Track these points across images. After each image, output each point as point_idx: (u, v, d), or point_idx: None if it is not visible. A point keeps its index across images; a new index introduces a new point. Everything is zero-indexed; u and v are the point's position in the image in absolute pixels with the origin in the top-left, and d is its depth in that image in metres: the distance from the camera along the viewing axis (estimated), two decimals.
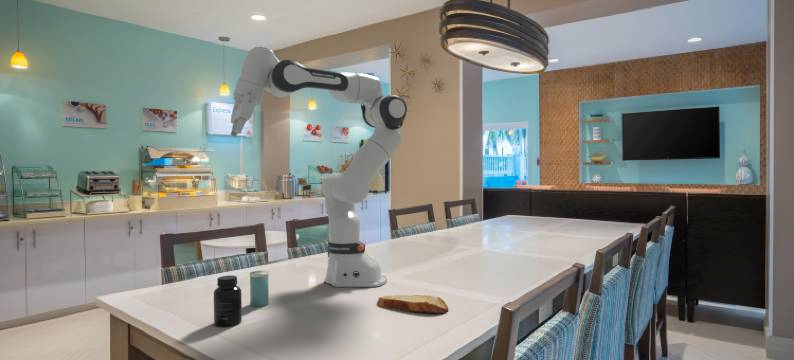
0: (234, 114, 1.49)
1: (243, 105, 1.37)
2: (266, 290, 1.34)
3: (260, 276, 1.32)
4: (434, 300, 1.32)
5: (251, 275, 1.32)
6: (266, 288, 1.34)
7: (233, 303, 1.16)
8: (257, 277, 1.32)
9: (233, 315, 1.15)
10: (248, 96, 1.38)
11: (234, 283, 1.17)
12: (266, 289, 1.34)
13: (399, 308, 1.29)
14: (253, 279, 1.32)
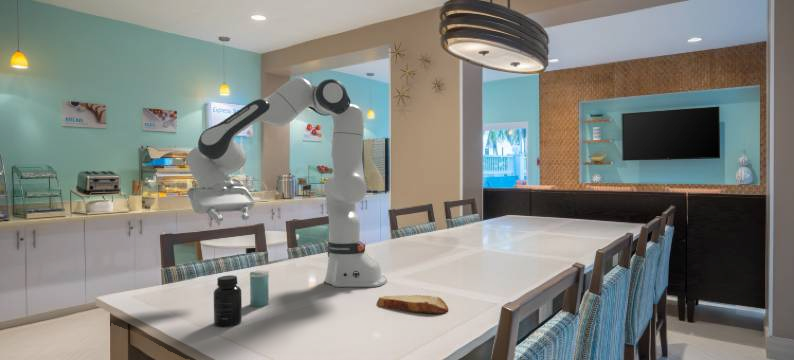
0: None
1: (192, 206, 1.37)
2: (266, 290, 1.34)
3: (260, 276, 1.32)
4: (434, 300, 1.32)
5: (251, 275, 1.32)
6: (266, 288, 1.34)
7: (233, 303, 1.16)
8: (257, 277, 1.32)
9: (233, 315, 1.15)
10: None
11: (234, 283, 1.17)
12: (266, 289, 1.34)
13: (399, 308, 1.29)
14: (253, 279, 1.32)
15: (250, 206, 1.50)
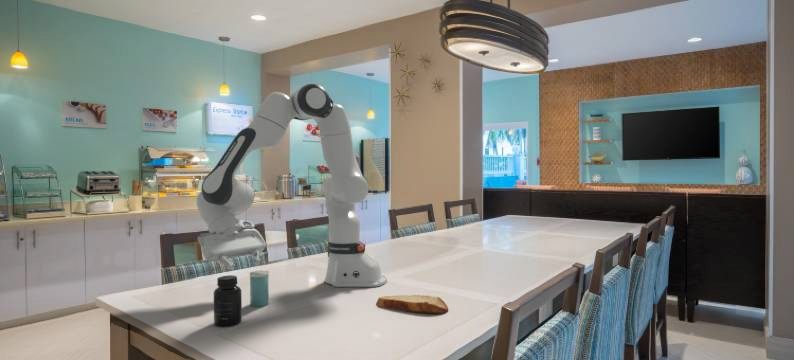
0: None
1: (203, 253, 1.34)
2: (266, 290, 1.34)
3: (260, 276, 1.32)
4: (434, 300, 1.32)
5: (251, 275, 1.32)
6: (266, 288, 1.34)
7: (233, 303, 1.16)
8: (257, 277, 1.32)
9: (233, 315, 1.15)
10: None
11: (234, 283, 1.17)
12: (266, 289, 1.34)
13: (399, 308, 1.29)
14: (253, 279, 1.32)
15: (261, 249, 1.47)
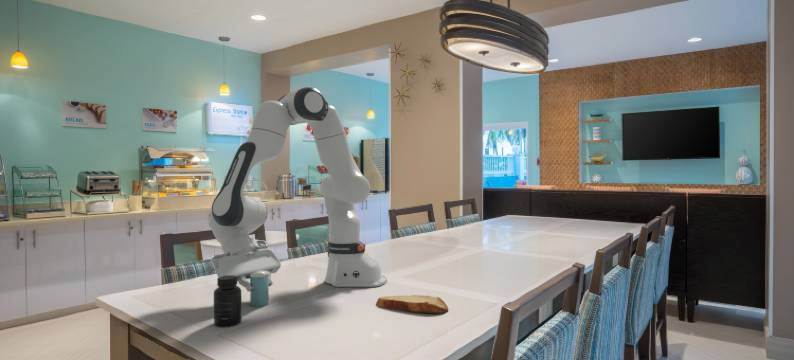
0: None
1: (217, 275, 1.30)
2: (266, 290, 1.34)
3: (260, 276, 1.32)
4: (434, 300, 1.32)
5: (251, 275, 1.32)
6: (266, 288, 1.34)
7: (233, 303, 1.16)
8: (257, 277, 1.32)
9: (233, 315, 1.15)
10: None
11: (234, 283, 1.17)
12: (266, 289, 1.33)
13: (399, 308, 1.29)
14: (253, 279, 1.32)
15: (276, 269, 1.43)
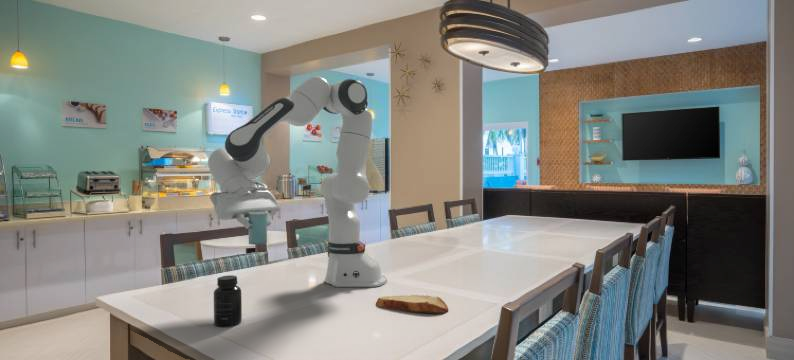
0: None
1: (216, 211, 1.29)
2: (264, 228, 1.33)
3: (258, 213, 1.31)
4: (434, 299, 1.32)
5: (249, 212, 1.32)
6: (264, 226, 1.33)
7: (233, 303, 1.16)
8: (255, 214, 1.31)
9: (233, 315, 1.15)
10: None
11: (234, 283, 1.17)
12: (264, 227, 1.33)
13: (399, 309, 1.29)
14: (251, 216, 1.31)
15: (275, 211, 1.42)
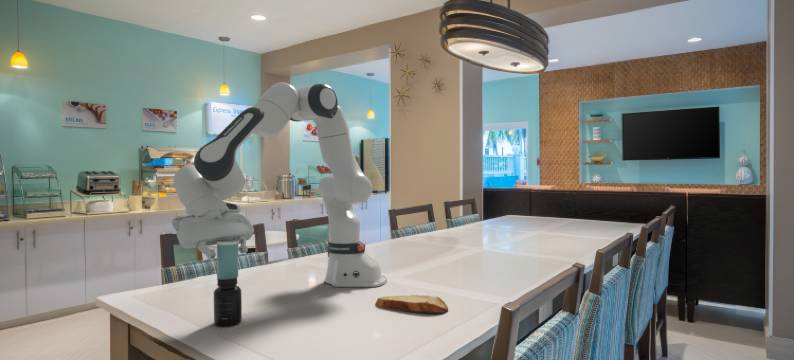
0: None
1: (178, 239, 1.13)
2: (235, 260, 1.17)
3: (228, 244, 1.15)
4: (433, 299, 1.32)
5: (218, 243, 1.16)
6: (235, 258, 1.17)
7: (233, 303, 1.16)
8: (224, 245, 1.15)
9: (233, 315, 1.15)
10: None
11: (234, 283, 1.17)
12: (235, 259, 1.17)
13: (399, 309, 1.29)
14: (220, 247, 1.15)
15: (249, 235, 1.26)
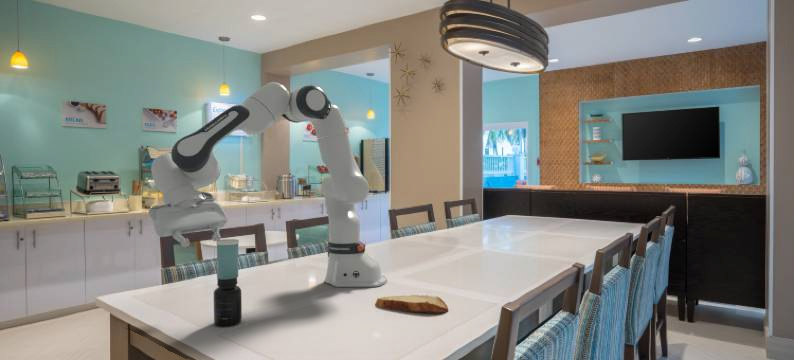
0: None
1: None
2: (235, 260, 1.17)
3: (228, 244, 1.15)
4: (433, 299, 1.32)
5: (218, 243, 1.16)
6: (235, 258, 1.17)
7: (233, 303, 1.16)
8: (224, 245, 1.15)
9: (233, 315, 1.15)
10: None
11: (234, 283, 1.17)
12: (235, 259, 1.17)
13: (399, 309, 1.29)
14: (220, 247, 1.15)
15: (222, 224, 1.34)
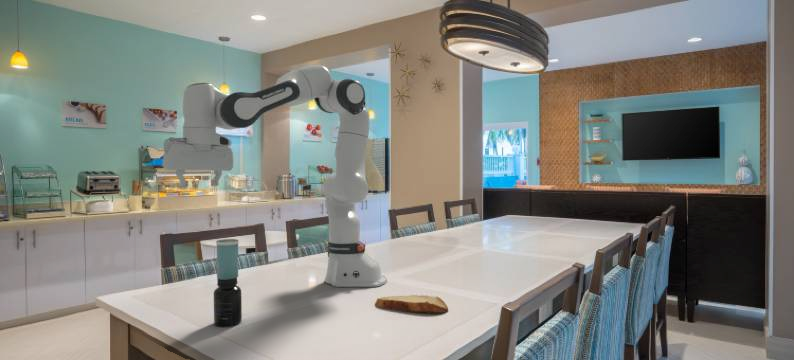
0: None
1: (163, 159, 1.25)
2: (235, 260, 1.17)
3: (228, 244, 1.15)
4: (433, 299, 1.33)
5: (217, 243, 1.16)
6: (235, 258, 1.17)
7: (233, 303, 1.16)
8: (224, 245, 1.15)
9: (233, 315, 1.15)
10: None
11: (234, 283, 1.17)
12: (235, 260, 1.17)
13: (399, 309, 1.29)
14: (220, 248, 1.15)
15: (226, 170, 1.39)
